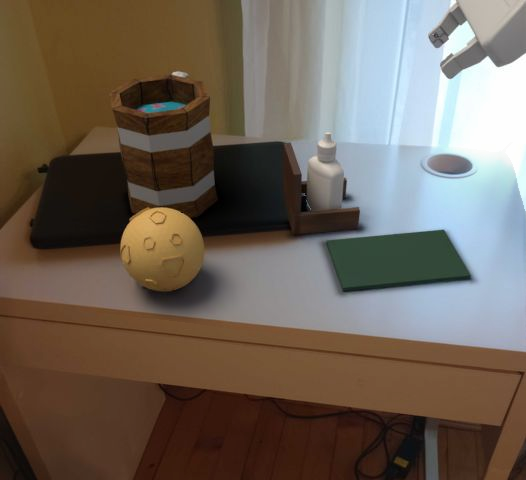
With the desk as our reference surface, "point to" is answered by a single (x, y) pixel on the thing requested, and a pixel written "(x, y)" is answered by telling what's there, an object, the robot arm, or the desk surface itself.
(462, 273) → the mat
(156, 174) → the mug
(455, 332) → the desk surface
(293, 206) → the holder
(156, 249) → the stress ball
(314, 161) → the eye dropper bottle
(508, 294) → the desk surface
